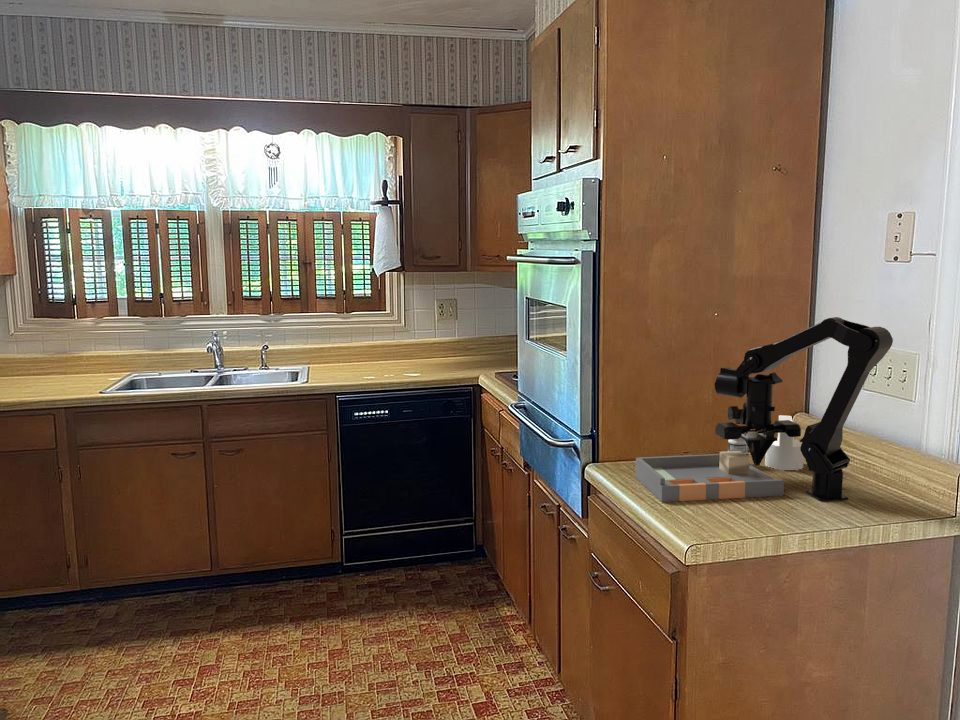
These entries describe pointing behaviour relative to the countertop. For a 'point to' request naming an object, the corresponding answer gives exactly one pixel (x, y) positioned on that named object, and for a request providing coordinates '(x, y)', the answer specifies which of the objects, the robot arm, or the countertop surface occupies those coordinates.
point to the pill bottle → (737, 445)
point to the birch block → (734, 462)
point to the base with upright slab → (785, 452)
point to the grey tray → (701, 479)
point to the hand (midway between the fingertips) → (756, 465)
